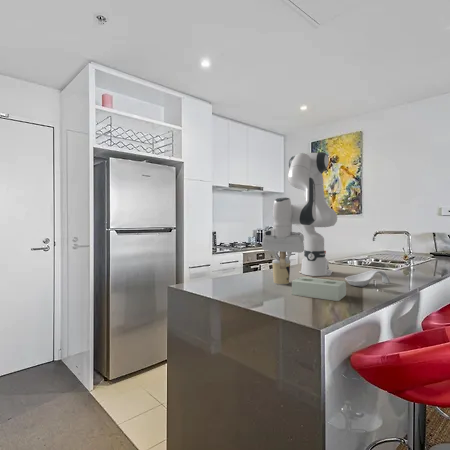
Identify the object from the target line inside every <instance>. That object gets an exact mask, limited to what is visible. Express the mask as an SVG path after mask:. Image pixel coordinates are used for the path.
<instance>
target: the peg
mask: <svg viewBox="0 0 450 450" xmlns="http://www.w3.org/2000/svg"><path fill="white" fill-rule="evenodd" d="M279 257H280V269H286V261H285V258H286V257H287V252H280V251H279Z"/></svg>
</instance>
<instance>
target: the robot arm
mask: <svg viewBox="0 0 450 450" xmlns="http://www.w3.org/2000/svg"><path fill="white" fill-rule="evenodd" d="M329 162H330V160H329V157H328V154H327V153H326V152H323V151H319V152H307V153H304V152H299V153H297V154H295V155H294V156H292V157H290V159H289V161H288V167H289V168H288V174H287V180H288V183H289V184H290V185H291V186H292V187H294V188H296V189H298V190H302V191H303V197H304V200H305V202H304V203H303V204H292V202H291V198H290V197H279V198H276V199H274V200H273V206H272V219H273V223H272V228H269V229H268V230H264V231H263V237H262V242H261V243H262V245H261V249H262V251H264V252H265V251H267V252H273V253H274V255H275V257H276V258H275V259H276V260H277V261H280V252H286V258H285V261H287V262H288V261H289V260H290V257H291V256H292V253H295V254H297V253H299V254H300V253H301V254H302V253H303V256H304V257H303V258H302V259H301V269H300V270H299V273H300V274H302V275H304V276H311V277H312V276H313V277H325V276H328V277H329V276H332V274H333V270H332V269H329V261H328V259H327V257H326V253H327V251H326V250H325V238H324V236H323V235H322V234H321V233H318V232H317V231H316V230H315V228H329V227H334V226H335V224H336V223H337V222H338V215H337V212H336V211H335V210H334V209H333V208H331V207H330V206H329V205H328V203H327V200H326V198H325V191H324V188H325V187H324V186H325V185H324V176H323V173H324V172H326V170H327V169H328V167H329ZM293 225H295V226H297V227H298V228H299V229H300V231H301V232H302V233H301V232H295V231H293Z"/></svg>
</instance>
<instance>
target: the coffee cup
mask: <svg viewBox="0 0 450 450" xmlns="http://www.w3.org/2000/svg"><path fill="white" fill-rule="evenodd" d="M271 263H272V275H273V276H272V278H273V284H275V285H281V286H282V285H289V284H290V276H291V275H290V274H291V273H290V272H291V260H290V259H289V261H288V262H287V261H286V269H280V261H277V260H276V258H275V259H272V261H271Z"/></svg>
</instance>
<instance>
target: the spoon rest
mask: <svg viewBox="0 0 450 450" xmlns="http://www.w3.org/2000/svg"><path fill="white" fill-rule="evenodd" d="M377 274H380V275H381V282H382V283H385V284H390V283H391V280H390V277H389V276H388V274H387V272H385V271H382V270H379V269H371V270H368V271H364V272H361V273H357V274H354V275H349V276H345V278H344V279H345V280H344V281H346V283H348V284H349V285H351V286H353V287H361V288H362V287H366V286H367V285H368V284H370V282H371V281H372V280H373V278H374V276H375V275H377Z"/></svg>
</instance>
